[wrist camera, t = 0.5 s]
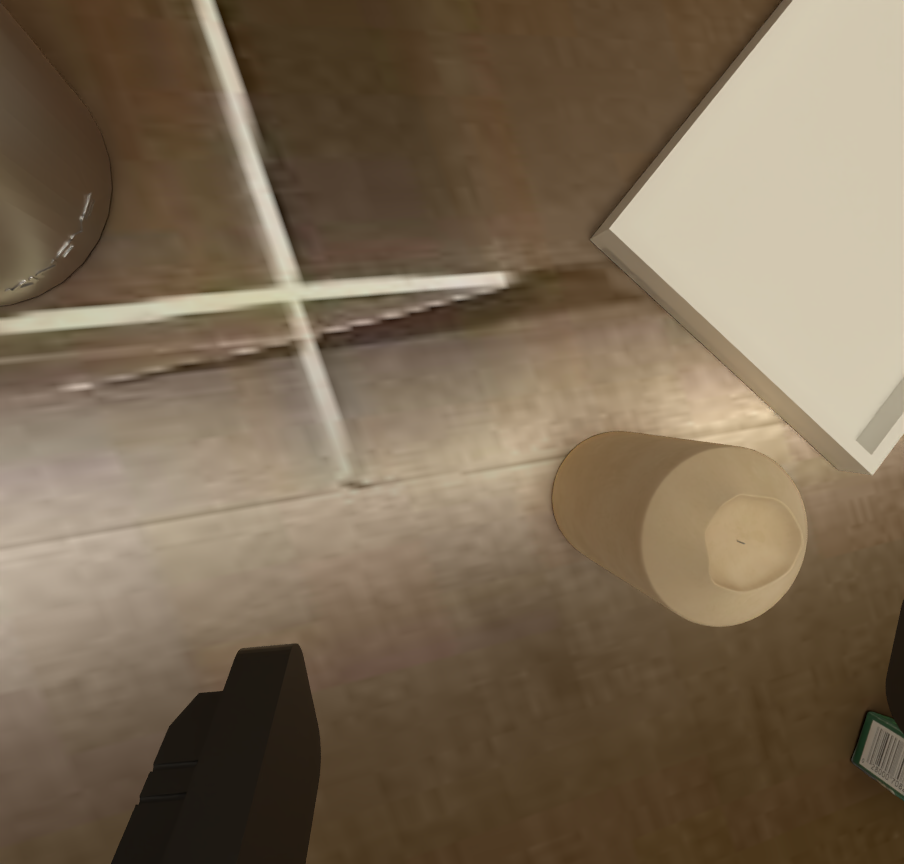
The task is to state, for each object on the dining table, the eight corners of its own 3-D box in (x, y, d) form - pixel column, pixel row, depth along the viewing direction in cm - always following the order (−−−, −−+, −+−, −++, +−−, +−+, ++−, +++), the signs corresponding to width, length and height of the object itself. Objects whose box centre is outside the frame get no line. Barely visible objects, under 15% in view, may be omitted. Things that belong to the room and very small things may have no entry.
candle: (584, 584, 30) (712, 679, 20) (528, 469, 29) (631, 508, 19) (694, 521, 30) (870, 583, 21) (641, 407, 30) (797, 415, 20)
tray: (589, 239, 29) (608, 228, 27) (865, -103, 30) (903, -137, 28) (838, 470, 31) (872, 475, 30) (1082, 145, 33) (1131, 130, 31)
